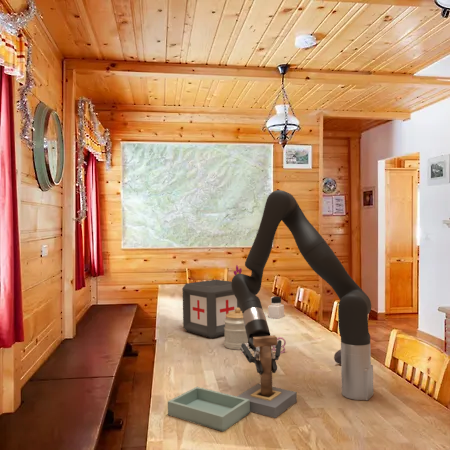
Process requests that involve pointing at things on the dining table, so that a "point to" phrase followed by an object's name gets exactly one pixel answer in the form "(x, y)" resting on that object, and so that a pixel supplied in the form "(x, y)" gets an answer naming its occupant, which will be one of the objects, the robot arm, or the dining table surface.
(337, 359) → the perforated stone tool
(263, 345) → the t key
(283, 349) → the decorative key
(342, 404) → the dining table surface
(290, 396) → the plate
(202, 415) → the tray
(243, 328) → the jar
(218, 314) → the first aid kit
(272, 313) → the medicine bottle
